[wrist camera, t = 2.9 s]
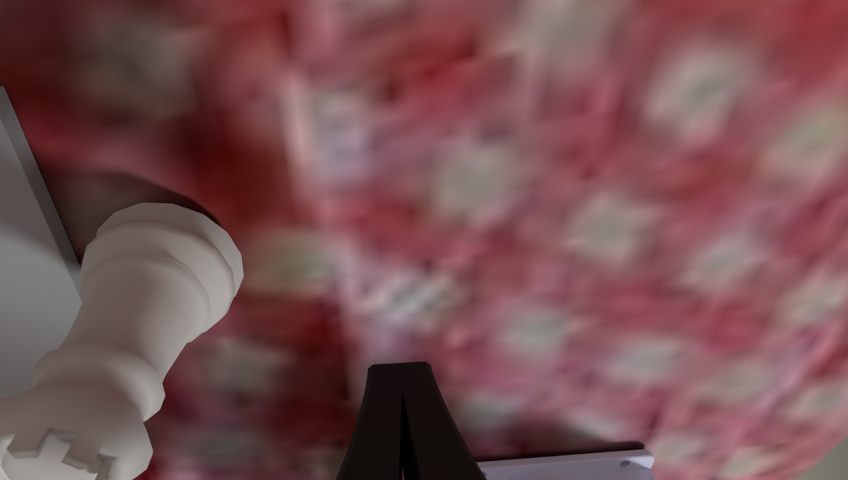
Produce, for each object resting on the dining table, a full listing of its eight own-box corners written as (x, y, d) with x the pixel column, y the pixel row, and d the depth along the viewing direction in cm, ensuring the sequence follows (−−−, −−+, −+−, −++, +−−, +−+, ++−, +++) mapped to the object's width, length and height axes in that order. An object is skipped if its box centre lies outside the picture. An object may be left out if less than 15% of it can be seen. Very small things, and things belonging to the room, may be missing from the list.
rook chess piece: (102, 297, 17) (-72, 545, 10) (96, 180, 15) (-128, 397, 8) (239, 317, 18) (164, 554, 11) (254, 210, 16) (171, 425, 9)
